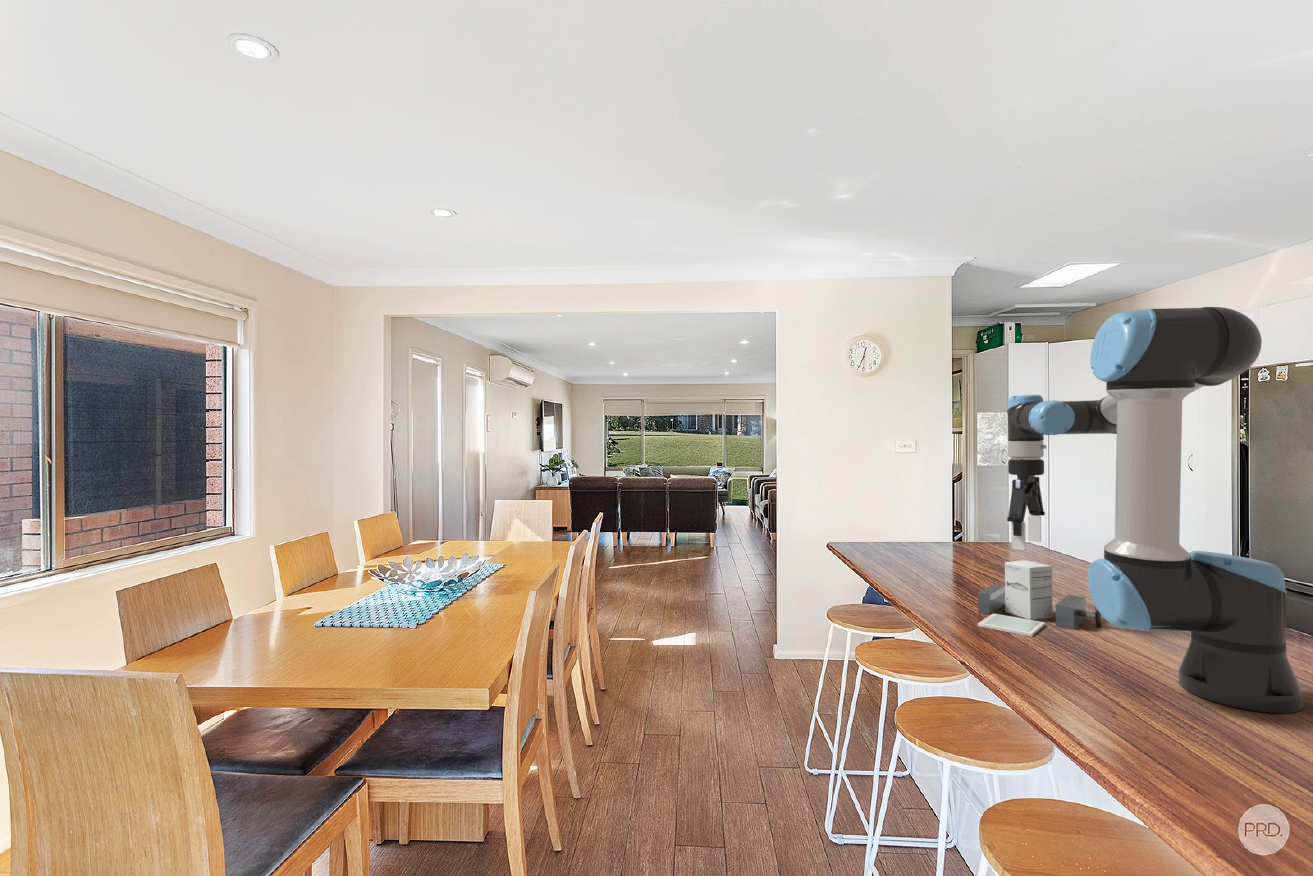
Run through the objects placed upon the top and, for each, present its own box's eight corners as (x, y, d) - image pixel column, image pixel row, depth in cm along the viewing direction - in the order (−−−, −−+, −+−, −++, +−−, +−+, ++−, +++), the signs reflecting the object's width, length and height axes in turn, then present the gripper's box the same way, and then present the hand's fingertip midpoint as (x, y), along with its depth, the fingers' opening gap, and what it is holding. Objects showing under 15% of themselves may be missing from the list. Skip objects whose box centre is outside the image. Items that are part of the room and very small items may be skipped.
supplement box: (1004, 612, 152) (1003, 561, 152) (1027, 609, 154) (1026, 559, 154) (1030, 621, 145) (1029, 567, 145) (1054, 617, 147) (1053, 565, 147)
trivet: (1031, 636, 134) (1031, 633, 134) (977, 626, 142) (977, 623, 142) (1045, 625, 141) (1045, 622, 141) (993, 616, 149) (993, 613, 149)
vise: (1095, 633, 135) (1095, 610, 135) (978, 612, 152) (978, 592, 152) (1106, 621, 143) (1105, 600, 143) (994, 603, 161) (993, 584, 161)
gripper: (1028, 461, 138) (1029, 555, 139) (1056, 456, 156) (1057, 539, 156) (992, 460, 144) (993, 550, 144) (1023, 456, 161) (1024, 536, 161)
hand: (1026, 545), depth 150 cm, fingers open, 13 cm apart
